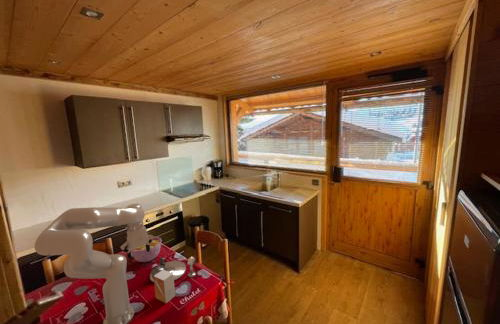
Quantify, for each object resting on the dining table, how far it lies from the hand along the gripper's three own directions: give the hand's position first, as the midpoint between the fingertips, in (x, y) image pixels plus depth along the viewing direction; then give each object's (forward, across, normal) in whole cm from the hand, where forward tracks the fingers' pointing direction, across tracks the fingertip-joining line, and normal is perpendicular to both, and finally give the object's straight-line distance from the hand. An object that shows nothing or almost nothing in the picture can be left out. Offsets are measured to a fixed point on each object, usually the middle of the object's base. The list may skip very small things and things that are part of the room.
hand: (139, 254), depth 122 cm
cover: (+17, +9, -1) cm, 19 cm away
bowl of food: (+19, +13, +26) cm, 34 cm away
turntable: (+18, +15, -1) cm, 24 cm away
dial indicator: (+18, +24, -14) cm, 33 cm away
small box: (+19, +5, -20) cm, 28 cm away
